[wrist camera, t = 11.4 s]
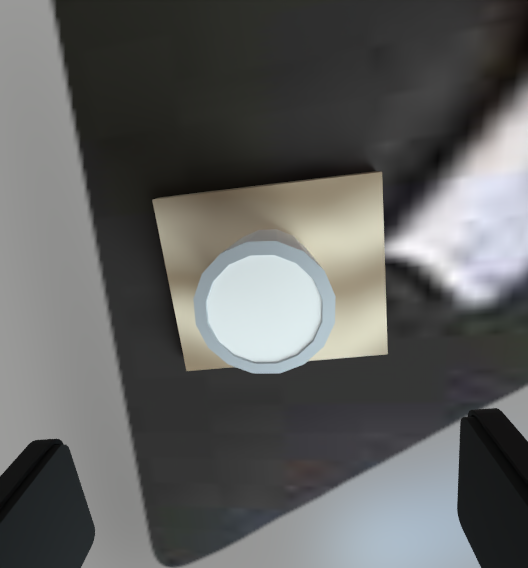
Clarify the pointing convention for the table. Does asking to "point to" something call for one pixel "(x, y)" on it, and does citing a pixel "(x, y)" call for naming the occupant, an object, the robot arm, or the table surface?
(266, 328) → the shot glass
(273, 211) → the birch board
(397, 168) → the table surface
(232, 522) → the table surface
